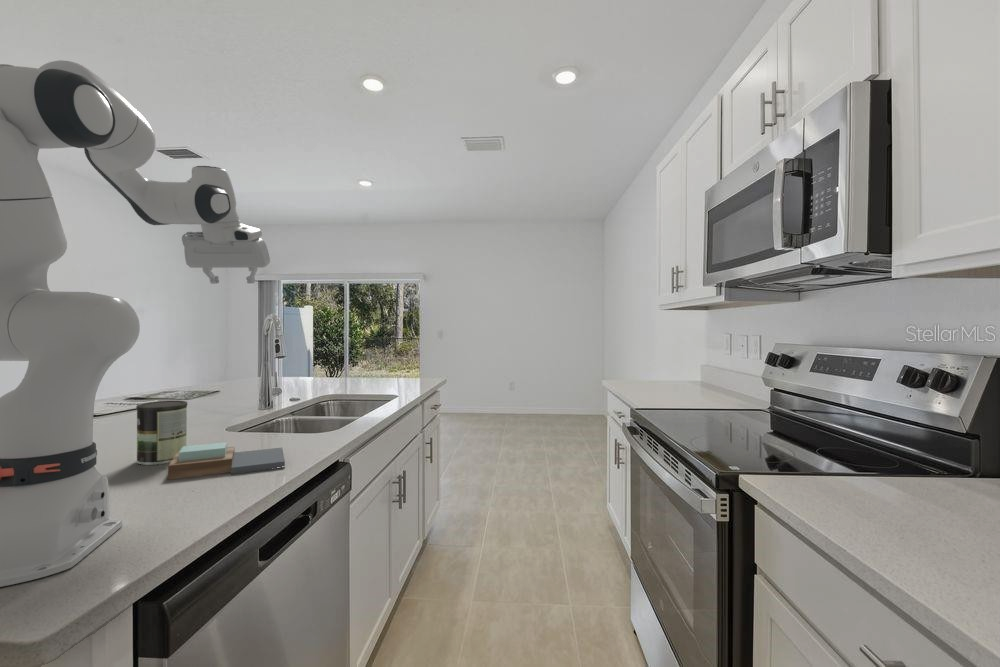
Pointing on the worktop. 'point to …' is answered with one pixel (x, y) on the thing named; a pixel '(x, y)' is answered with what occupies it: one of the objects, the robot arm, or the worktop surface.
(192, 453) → the block
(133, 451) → the worktop surface
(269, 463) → the grey flat slab
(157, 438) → the coffee can
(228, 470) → the brown square plate
